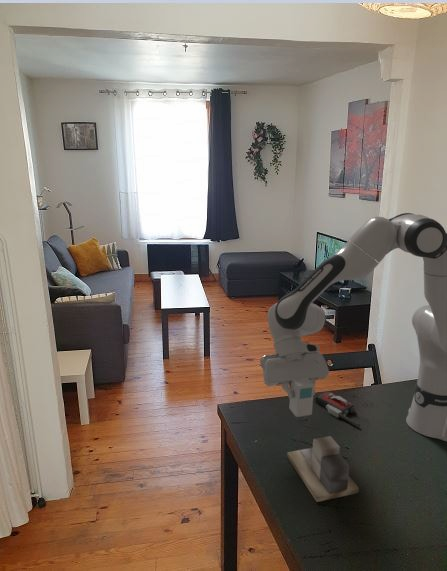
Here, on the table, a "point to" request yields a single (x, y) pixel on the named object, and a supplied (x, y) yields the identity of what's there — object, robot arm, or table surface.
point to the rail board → (315, 481)
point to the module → (302, 397)
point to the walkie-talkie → (336, 405)
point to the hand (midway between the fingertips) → (302, 396)
